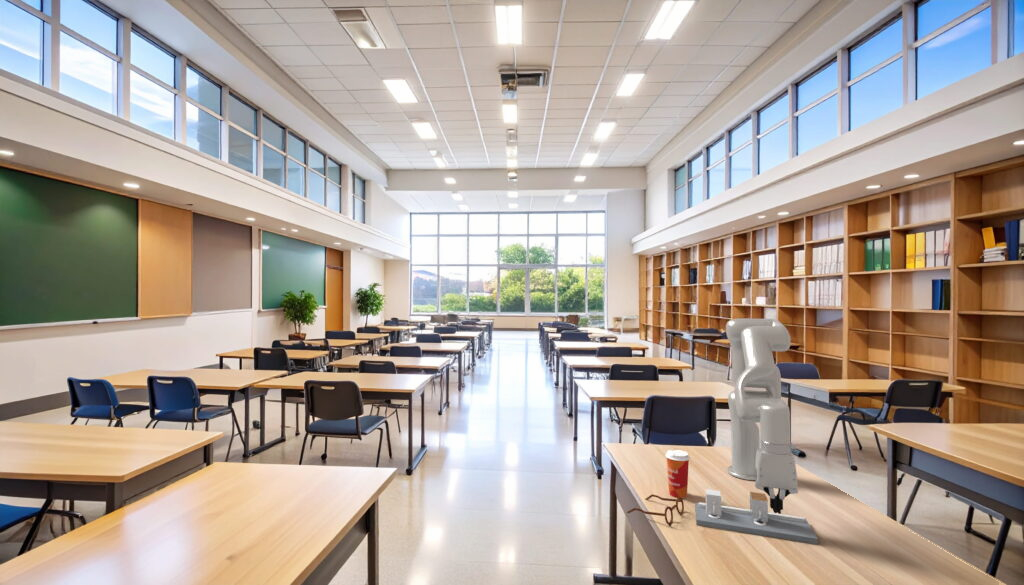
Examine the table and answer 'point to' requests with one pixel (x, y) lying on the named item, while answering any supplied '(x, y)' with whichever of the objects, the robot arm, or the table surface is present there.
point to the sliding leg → (758, 507)
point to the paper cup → (677, 472)
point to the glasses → (665, 509)
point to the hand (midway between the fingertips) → (776, 511)
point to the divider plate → (751, 521)
